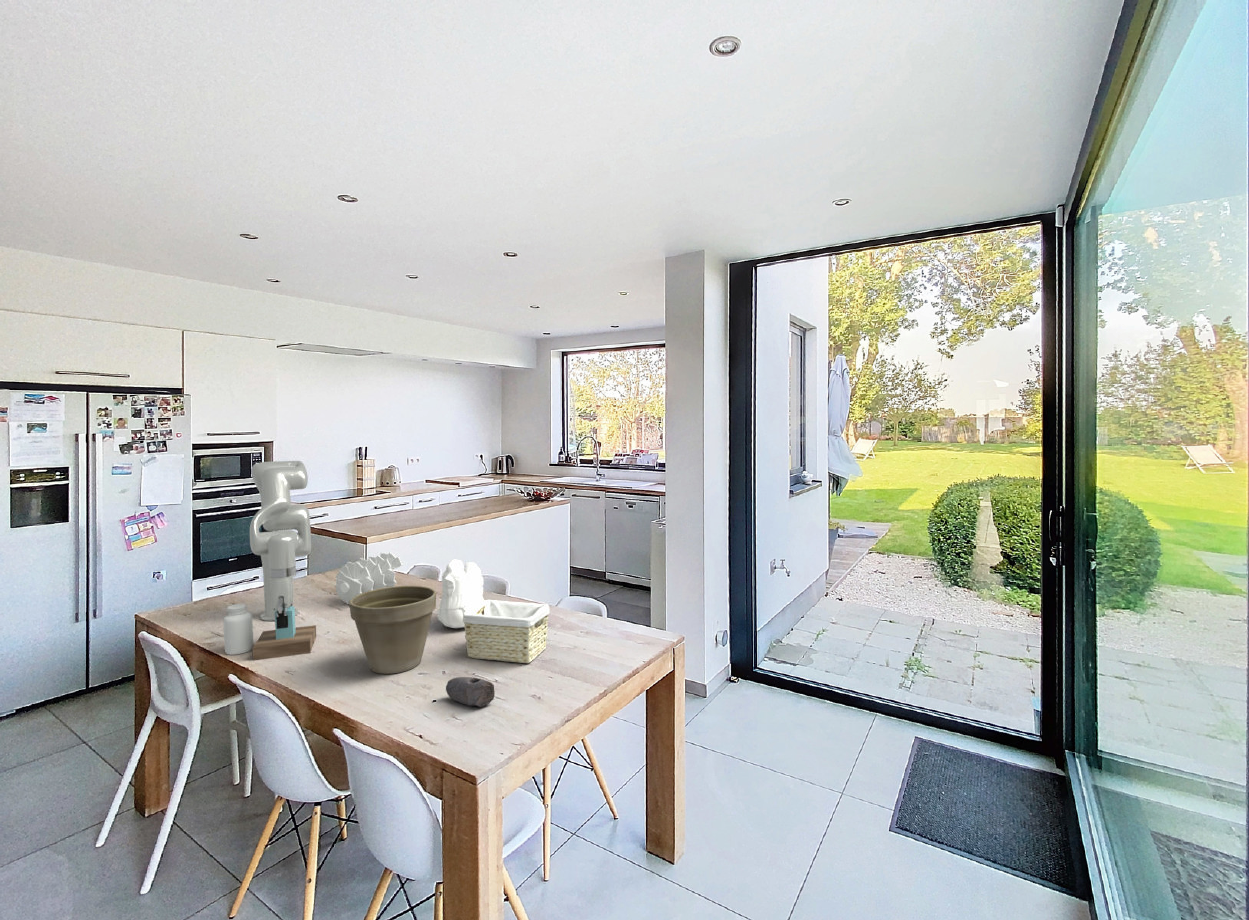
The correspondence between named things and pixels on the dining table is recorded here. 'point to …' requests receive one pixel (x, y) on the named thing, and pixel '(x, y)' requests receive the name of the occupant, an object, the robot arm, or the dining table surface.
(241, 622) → the pill bottle
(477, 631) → the storage basket
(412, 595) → the plant pot
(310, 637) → the wavy brown panel
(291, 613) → the teal carton
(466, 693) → the perforated stone tool
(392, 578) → the spiral staircase
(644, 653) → the dining table surface
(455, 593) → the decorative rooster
